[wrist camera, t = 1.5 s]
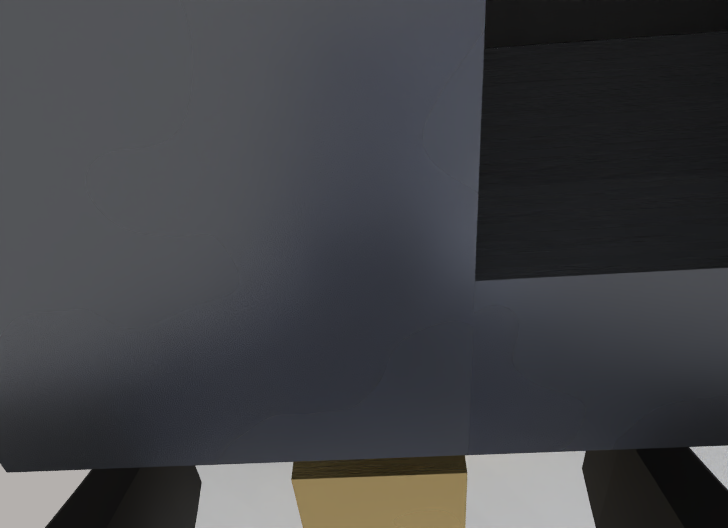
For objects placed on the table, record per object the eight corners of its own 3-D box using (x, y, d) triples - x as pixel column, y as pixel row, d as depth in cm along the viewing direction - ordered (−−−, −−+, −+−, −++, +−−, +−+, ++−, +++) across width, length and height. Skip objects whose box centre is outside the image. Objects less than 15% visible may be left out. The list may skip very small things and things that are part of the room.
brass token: (436, 263, 10) (467, 473, 7) (438, 453, 13) (459, 661, 10) (316, 270, 10) (291, 479, 7) (344, 456, 13) (336, 664, 10)
